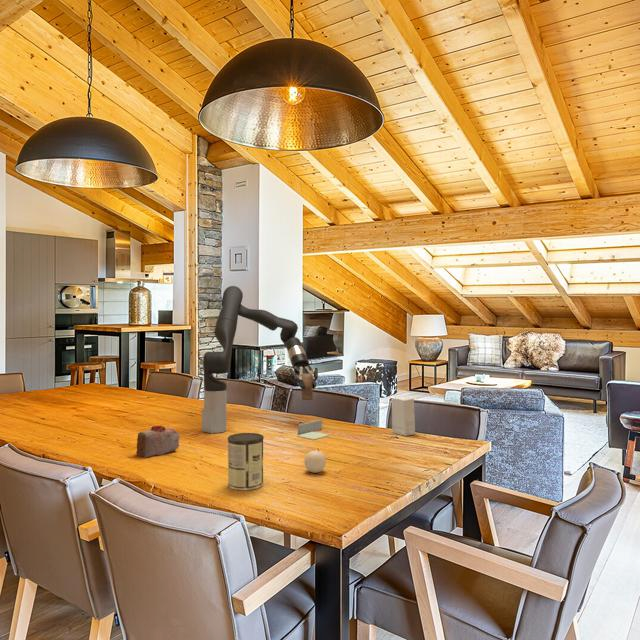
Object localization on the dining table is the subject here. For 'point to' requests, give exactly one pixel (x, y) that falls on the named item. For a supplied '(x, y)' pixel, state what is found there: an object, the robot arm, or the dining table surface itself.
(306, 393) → the pin
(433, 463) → the dining table surface
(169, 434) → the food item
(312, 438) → the mat
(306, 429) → the wall
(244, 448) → the coffee can
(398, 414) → the skincare box
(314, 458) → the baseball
